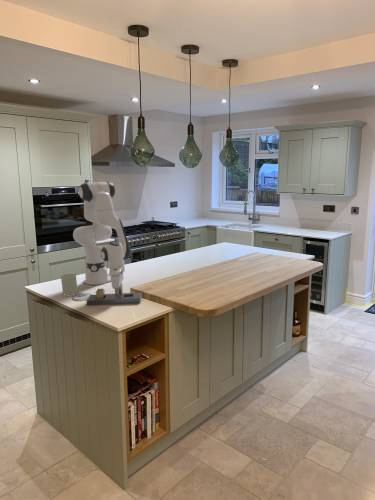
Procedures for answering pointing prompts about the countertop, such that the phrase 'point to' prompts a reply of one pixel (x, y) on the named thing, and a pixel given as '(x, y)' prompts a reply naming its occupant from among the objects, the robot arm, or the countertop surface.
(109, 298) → the grey peg hole board
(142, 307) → the countertop surface
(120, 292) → the wooden post chunk
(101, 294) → the tan square peg
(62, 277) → the glass tumbler
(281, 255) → the countertop surface
